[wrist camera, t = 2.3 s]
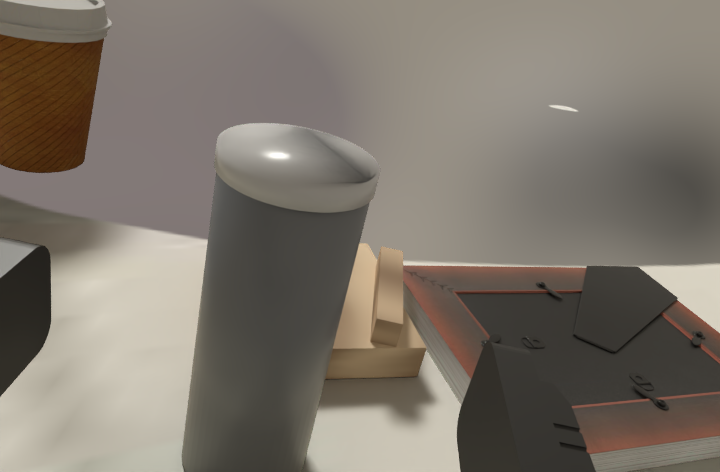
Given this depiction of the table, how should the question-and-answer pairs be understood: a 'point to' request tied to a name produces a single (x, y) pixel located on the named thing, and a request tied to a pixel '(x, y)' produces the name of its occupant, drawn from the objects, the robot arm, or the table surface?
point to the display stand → (376, 322)
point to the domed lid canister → (272, 293)
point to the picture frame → (584, 351)
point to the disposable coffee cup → (48, 81)
